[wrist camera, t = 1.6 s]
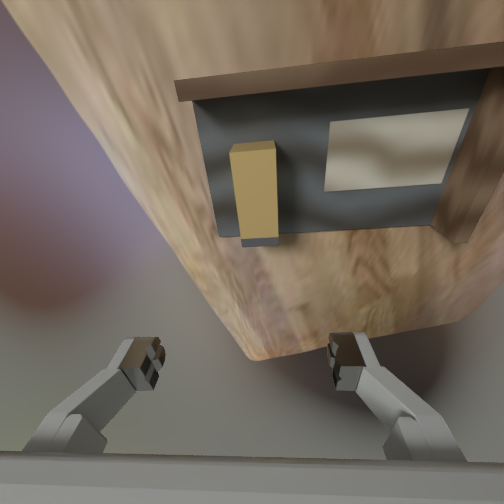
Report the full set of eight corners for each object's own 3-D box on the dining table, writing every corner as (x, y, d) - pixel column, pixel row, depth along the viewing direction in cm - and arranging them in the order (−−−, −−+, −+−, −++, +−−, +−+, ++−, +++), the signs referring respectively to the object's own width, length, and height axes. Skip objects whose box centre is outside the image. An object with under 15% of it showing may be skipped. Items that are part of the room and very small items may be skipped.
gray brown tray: (189, 82, 23) (173, 80, 19) (513, 44, 21) (575, 33, 17) (219, 235, 34) (213, 255, 30) (440, 222, 31) (467, 242, 27)
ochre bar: (233, 143, 26) (229, 152, 22) (273, 140, 26) (275, 148, 22) (244, 229, 32) (242, 247, 29) (276, 227, 32) (278, 245, 28)
